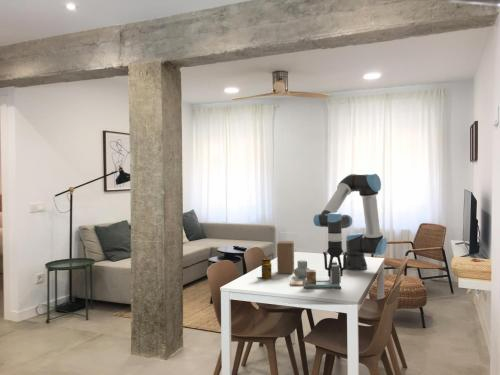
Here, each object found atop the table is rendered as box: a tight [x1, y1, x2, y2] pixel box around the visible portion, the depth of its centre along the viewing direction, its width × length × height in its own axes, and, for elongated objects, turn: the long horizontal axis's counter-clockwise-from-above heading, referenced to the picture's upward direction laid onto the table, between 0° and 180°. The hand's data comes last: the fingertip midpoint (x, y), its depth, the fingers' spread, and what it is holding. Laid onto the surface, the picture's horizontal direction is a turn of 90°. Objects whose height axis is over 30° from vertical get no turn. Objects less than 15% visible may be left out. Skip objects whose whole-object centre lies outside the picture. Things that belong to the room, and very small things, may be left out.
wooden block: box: [276, 240, 295, 275], centre depth 271 cm, size 10×10×20 cm
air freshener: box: [293, 259, 311, 279], centre depth 258 cm, size 11×8×10 cm
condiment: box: [256, 257, 275, 281], centre depth 256 cm, size 7×8×12 cm
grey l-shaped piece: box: [305, 264, 341, 286], centre depth 234 cm, size 18×6×12 cm, turn 86°
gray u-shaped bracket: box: [304, 261, 338, 283], centre depth 243 cm, size 18×6×12 cm, turn 86°
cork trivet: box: [290, 280, 304, 287], centre depth 240 cm, size 7×7×1 cm
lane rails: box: [302, 278, 342, 290], centre depth 238 cm, size 20×18×1 cm
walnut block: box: [305, 269, 317, 284], centre depth 234 cm, size 5×5×7 cm
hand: (335, 282), depth 233 cm, fingers closed on grey l-shaped piece, 4 cm apart
